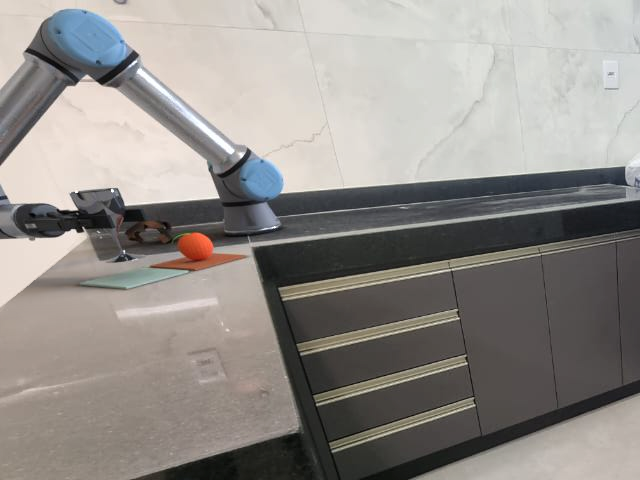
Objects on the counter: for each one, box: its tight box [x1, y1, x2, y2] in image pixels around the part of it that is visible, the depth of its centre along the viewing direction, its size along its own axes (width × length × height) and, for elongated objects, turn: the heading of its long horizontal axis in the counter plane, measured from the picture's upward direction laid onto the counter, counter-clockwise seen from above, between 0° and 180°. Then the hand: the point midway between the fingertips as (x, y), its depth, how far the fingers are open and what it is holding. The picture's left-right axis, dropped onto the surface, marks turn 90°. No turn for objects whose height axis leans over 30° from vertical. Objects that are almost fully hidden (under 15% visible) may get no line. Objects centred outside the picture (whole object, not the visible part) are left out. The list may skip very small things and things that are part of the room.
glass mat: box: [79, 266, 189, 290], centre depth 122 cm, size 13×16×1 cm
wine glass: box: [68, 187, 147, 264], centre depth 117 cm, size 8×8×15 cm
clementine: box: [171, 231, 214, 260], centre depth 133 cm, size 8×7×7 cm
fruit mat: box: [149, 252, 247, 272], centre depth 135 cm, size 13×16×1 cm
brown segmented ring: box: [124, 218, 174, 244], centre depth 160 cm, size 12×10×8 cm
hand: (128, 218), depth 116 cm, fingers closed on wine glass, 7 cm apart
